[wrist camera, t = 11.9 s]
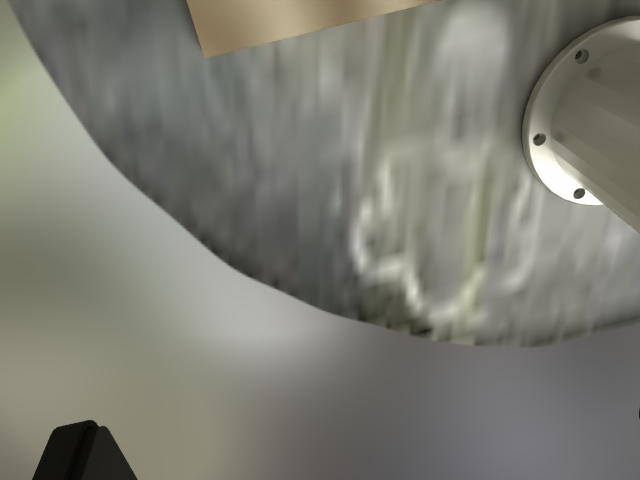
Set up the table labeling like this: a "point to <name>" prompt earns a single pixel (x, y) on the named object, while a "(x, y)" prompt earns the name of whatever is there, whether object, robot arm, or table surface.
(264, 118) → the table surface
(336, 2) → the board
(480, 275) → the table surface
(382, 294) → the table surface
